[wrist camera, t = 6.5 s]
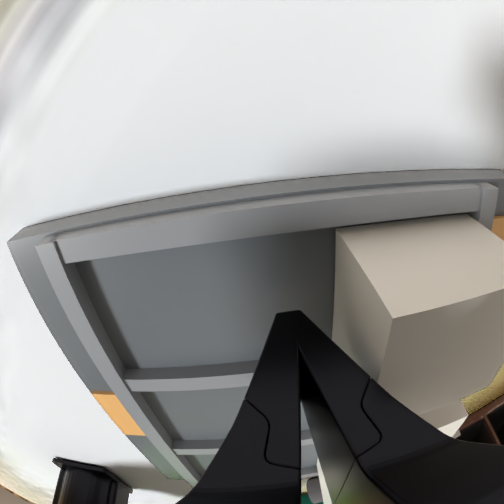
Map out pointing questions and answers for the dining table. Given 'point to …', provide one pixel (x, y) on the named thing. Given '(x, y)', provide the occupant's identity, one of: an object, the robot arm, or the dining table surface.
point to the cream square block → (421, 306)
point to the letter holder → (485, 424)
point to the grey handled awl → (315, 487)
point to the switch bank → (212, 291)
